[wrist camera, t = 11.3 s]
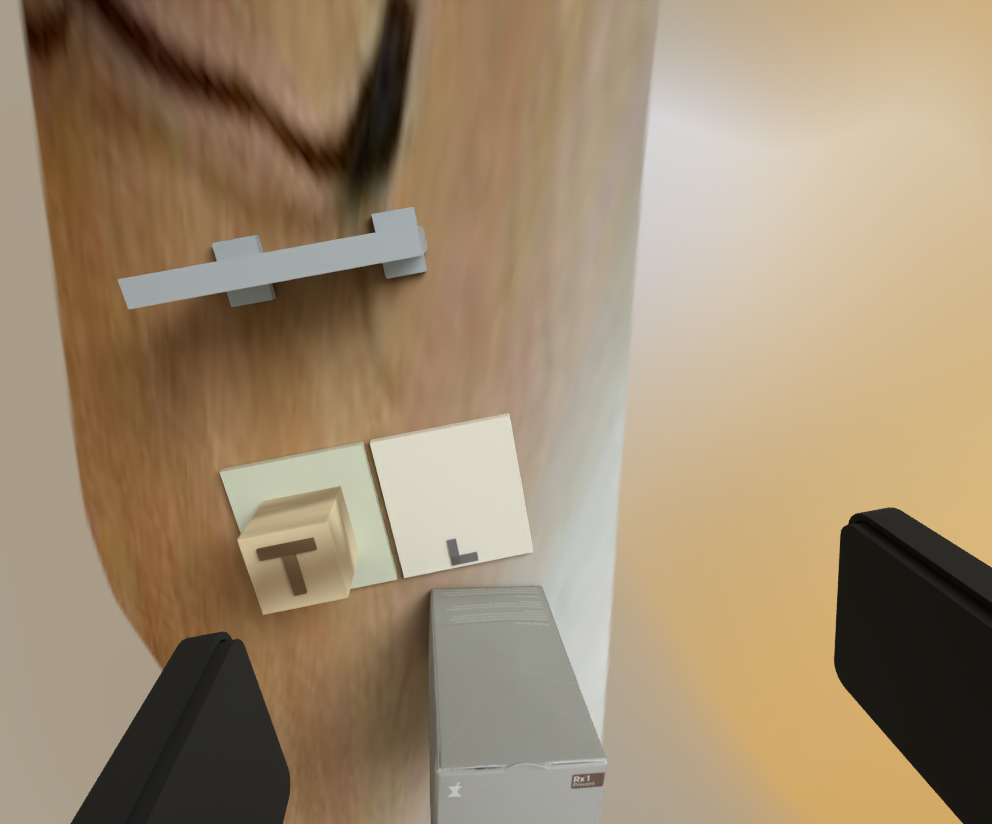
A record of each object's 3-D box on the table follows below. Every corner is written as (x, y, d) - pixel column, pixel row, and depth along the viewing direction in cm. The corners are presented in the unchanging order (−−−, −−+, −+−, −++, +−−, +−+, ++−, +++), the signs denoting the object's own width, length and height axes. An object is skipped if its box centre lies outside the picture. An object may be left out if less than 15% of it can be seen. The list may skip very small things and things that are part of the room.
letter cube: (263, 501, 37) (235, 541, 32) (340, 486, 38) (325, 524, 33) (285, 571, 39) (263, 620, 34) (360, 556, 39) (348, 603, 34)
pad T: (222, 468, 37) (218, 473, 36) (363, 441, 38) (361, 445, 37) (268, 601, 40) (265, 607, 40) (397, 574, 41) (396, 580, 40)
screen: (211, 244, 33) (106, 248, 23) (419, 206, 34) (409, 193, 23) (230, 306, 34) (138, 338, 24) (432, 269, 35) (428, 284, 24)
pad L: (370, 439, 38) (369, 443, 37) (508, 412, 38) (509, 416, 37) (404, 573, 41) (404, 579, 40) (532, 547, 41) (533, 553, 40)
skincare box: (428, 660, 43) (421, 892, 28) (430, 574, 41) (425, 775, 26) (542, 659, 44) (595, 883, 29) (550, 575, 42) (612, 769, 27)
